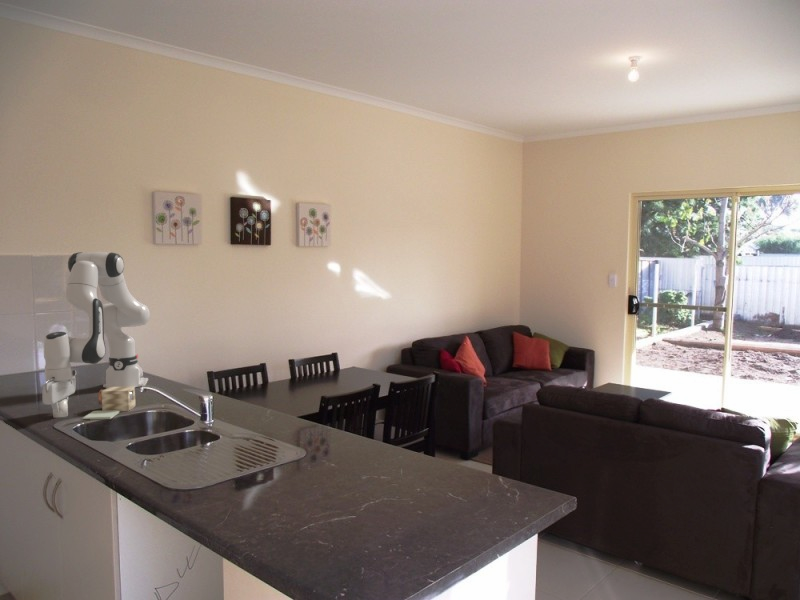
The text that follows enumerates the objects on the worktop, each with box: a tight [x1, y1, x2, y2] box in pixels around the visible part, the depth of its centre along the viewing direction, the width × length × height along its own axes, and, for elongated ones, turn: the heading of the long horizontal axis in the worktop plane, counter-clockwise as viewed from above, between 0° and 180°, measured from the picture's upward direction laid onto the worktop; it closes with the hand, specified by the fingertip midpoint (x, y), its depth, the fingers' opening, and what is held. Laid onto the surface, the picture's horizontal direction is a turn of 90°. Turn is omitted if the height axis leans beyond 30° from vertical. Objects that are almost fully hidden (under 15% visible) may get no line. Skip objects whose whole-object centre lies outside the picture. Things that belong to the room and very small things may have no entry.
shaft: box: [97, 389, 133, 406], centre depth 248 cm, size 12×6×6 cm, turn 95°
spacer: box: [52, 399, 69, 419], centre depth 239 cm, size 5×5×6 cm
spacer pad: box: [82, 410, 121, 421], centre depth 239 cm, size 10×10×1 cm
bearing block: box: [101, 386, 136, 412], centre depth 249 cm, size 10×8×8 cm
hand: (60, 410), depth 239 cm, fingers closed on spacer, 5 cm apart
